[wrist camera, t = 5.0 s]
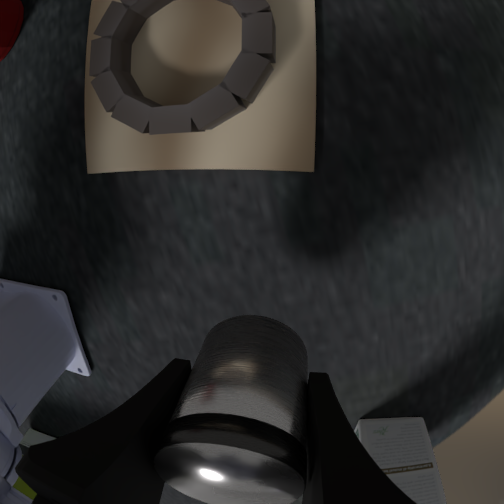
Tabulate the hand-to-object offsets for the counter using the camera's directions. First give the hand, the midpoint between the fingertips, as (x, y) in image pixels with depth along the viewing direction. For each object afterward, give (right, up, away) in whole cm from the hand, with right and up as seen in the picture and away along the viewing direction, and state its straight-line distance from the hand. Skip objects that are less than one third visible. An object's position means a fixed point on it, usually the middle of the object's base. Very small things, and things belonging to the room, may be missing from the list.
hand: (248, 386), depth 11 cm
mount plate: (-3, +15, +2) cm, 15 cm away
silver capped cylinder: (0, +1, +2) cm, 2 cm away
